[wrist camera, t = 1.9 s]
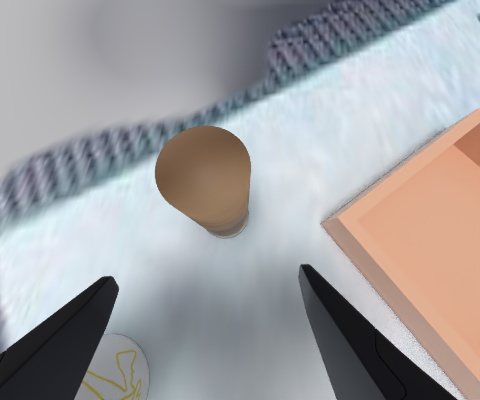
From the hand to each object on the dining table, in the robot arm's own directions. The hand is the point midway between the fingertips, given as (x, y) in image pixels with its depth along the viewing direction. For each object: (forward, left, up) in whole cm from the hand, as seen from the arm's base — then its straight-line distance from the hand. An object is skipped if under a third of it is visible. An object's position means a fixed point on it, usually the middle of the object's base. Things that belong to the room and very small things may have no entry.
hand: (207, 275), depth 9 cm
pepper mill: (+5, -3, -12) cm, 13 cm away
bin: (-12, -21, -12) cm, 27 cm away
